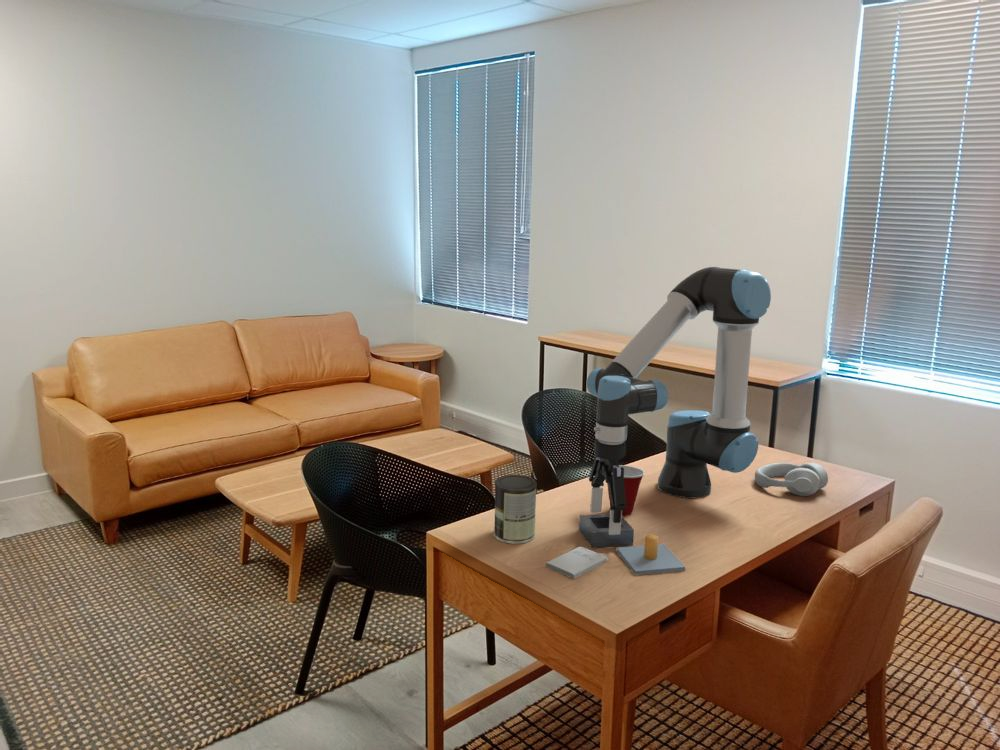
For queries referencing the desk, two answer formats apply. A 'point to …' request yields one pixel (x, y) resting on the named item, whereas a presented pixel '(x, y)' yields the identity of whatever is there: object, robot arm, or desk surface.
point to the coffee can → (515, 508)
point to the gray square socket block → (604, 531)
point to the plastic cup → (630, 487)
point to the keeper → (650, 558)
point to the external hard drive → (576, 562)
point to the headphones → (793, 477)
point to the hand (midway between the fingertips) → (604, 522)
